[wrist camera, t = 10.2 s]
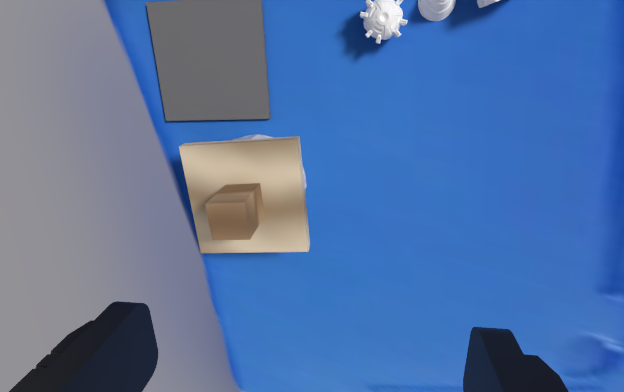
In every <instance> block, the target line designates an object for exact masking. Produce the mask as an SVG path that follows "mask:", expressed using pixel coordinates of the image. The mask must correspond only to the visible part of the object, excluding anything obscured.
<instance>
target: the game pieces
mask: <svg viewBox="0 0 624 392" xmlns="http://www.w3.org/2000/svg"><path fill="white" fill-rule="evenodd" d="M402 1H403V0H397V1H396V2H395V1H394V0H375V1H374V2H372V1H371V0H367V1H366V5H367V7H368V8H367V10H366V12H360V17H361V18H363V19H364V22H363V24H364V28H365V29H366V30H367V33H366V34H365V36H366V37H367V38H369V37H370V35H371V36H372V37H374V38H376V43H379V44H380V41H381V39H384V40H387V39H390V38H391V37H392V36H393V35H394V36H395V37H399V36H400V35H401V34H400V32H399V31H398V30H399V28H400V26H404V25H407V21H408V20H403V19H402V16H403V12H402V9H401V8H400V7H399V5H400V4H401V3H402ZM497 1H499V0H477V3H478V7H479V8H482V7H485V6H488V5H489V4H492V3H495V2H497ZM455 2H456V0H418V7H419V11H420V13H421V15H422V16H423V17H424V18H426V19H427V20H430V21H439V20H442V19H444V18H446V17H447V16H448V15H449V14H450V13H451V12H452V10H453V8H454V6H455Z"/></svg>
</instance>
